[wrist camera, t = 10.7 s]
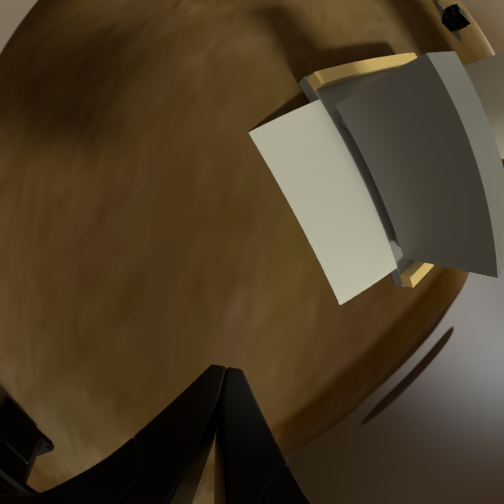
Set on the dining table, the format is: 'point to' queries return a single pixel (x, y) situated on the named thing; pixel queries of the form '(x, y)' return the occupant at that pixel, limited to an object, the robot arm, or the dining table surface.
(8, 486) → the robot arm
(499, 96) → the cylinder vase
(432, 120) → the gray and cream l-shape
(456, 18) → the black block on plate
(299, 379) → the dining table surface
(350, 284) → the loading dock
